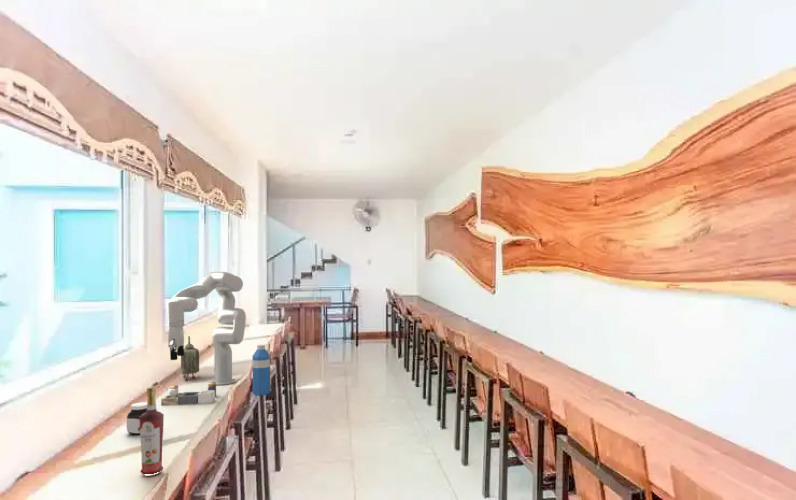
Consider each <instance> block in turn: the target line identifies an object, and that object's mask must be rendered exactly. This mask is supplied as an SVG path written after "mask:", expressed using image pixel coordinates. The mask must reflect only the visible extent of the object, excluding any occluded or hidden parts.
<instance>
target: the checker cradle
mask: <svg viewBox="0 0 796 500" xmlns="http://www.w3.org/2000/svg"><path fill="white" fill-rule="evenodd" d="M199 392H200V391H189V392H188V391H184V392H181V393H182V394H181V395H179V396H178V406H179V405H198V393H199Z"/></svg>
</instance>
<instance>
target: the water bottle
mask: <svg viewBox="0 0 796 500" xmlns="http://www.w3.org/2000/svg"><path fill="white" fill-rule="evenodd" d="M253 394H255V395H254V396H267V395H270V394H271V356H270V353H269V352H268V351H267V350H266V345H265V344H257V345H256V349H255V351H254V352H253V354H252V395H253Z"/></svg>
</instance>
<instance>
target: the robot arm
mask: <svg viewBox="0 0 796 500" xmlns="http://www.w3.org/2000/svg"><path fill="white" fill-rule="evenodd" d="M243 287H244V282H243V280H242V278H241V277H239V276H237V275H235V274H233V273H230V272H227V271H210V272H208V273H206V275H204V276H203V277H202V278H201V279H200V280H199V281H198V282H197V283H195V284H193V285H190V286H188V287H186V288H183V289H181V290H179V291H178V292H177V293H175V294H174V295H173V296H172V298H171V299H169V300H167V327H168V333H167V335H168V337H167V339H168V340H167V343H168V345H167V346H168V348H169V354H170V361H176V360H178V357H181V356H184V348H185V345H184V343H185V334H184V333H185V332H184V327H185V313H192V312H194V311H196V310H197V308H198V306H199V303H198V300H199V299H203V298H205V297H207V296H209V295H210V293H212V292H213V291H214V290H215V291H216V292H217V294H218V296H219V307H218V313H217V321H218V323H219V324H221V325H227V326H219V327H216V328H215V329H213V331H212V334H211V335H212V343H213V349H214V353H213V354H214V380H211V382H216V386H225V385H227V386H228V385H232V384H234V383H236V380H235V379H234V378H233V351H232V350H233V349H232V347H231V346H230V345H239V344H241V343H242V342H243V340H244V336H245V330H246V329H245V328H246V320H247V315H246V312H245V310H244V309H243V308H239V307H236V298H235V296H234V294H233V293H235V292H240V291H242V289H243Z"/></svg>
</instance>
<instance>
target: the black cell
mask: <svg viewBox="0 0 796 500" xmlns="http://www.w3.org/2000/svg"><path fill="white" fill-rule="evenodd" d="M207 390H215V398H216V397H217V385H216V382H212V381H211V382H207Z"/></svg>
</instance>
